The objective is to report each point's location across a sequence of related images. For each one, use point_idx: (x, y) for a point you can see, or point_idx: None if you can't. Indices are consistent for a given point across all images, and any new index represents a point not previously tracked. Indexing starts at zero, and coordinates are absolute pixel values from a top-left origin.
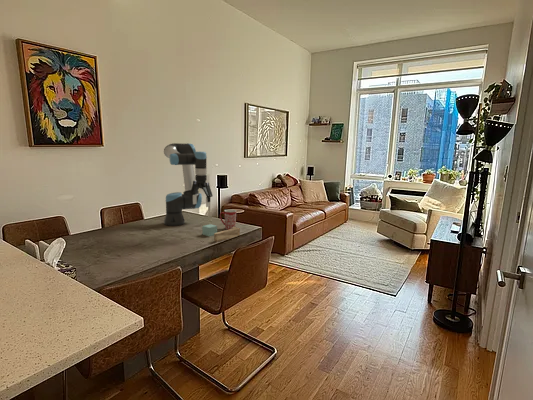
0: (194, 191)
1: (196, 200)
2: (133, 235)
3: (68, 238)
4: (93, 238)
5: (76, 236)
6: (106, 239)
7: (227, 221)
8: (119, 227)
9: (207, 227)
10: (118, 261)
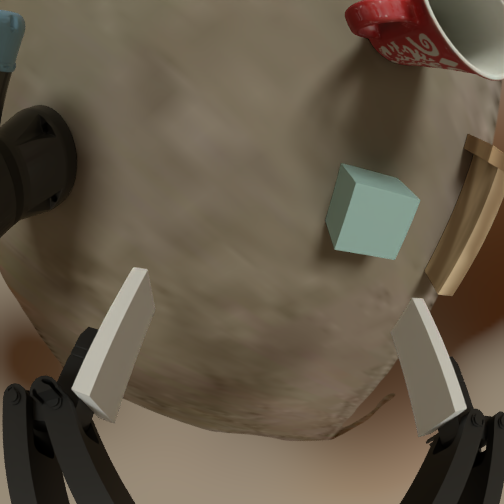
0: (121, 487)
1: (129, 308)
2: None
3: None
4: None
5: None
6: None
7: (431, 66)
8: (29, 302)
9: (381, 257)
10: (280, 420)
